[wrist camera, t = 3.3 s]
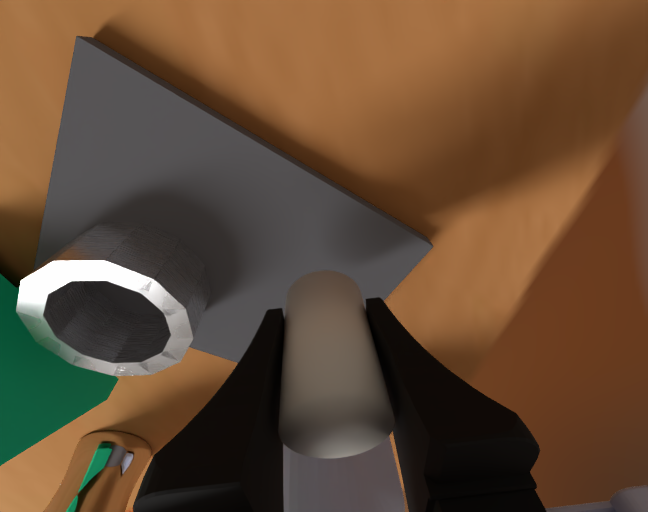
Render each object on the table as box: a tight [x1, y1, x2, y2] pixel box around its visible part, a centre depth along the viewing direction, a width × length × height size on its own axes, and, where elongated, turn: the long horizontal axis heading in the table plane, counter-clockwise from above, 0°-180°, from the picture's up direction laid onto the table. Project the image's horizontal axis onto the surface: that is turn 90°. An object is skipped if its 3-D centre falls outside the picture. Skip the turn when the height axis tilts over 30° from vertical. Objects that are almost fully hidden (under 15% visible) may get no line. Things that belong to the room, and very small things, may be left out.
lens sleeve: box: [16, 222, 211, 376], centre depth 16 cm, size 7×7×4 cm
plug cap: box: [278, 270, 395, 458], centre depth 12 cm, size 4×4×6 cm
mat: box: [33, 36, 433, 363], centre depth 18 cm, size 18×14×1 cm
